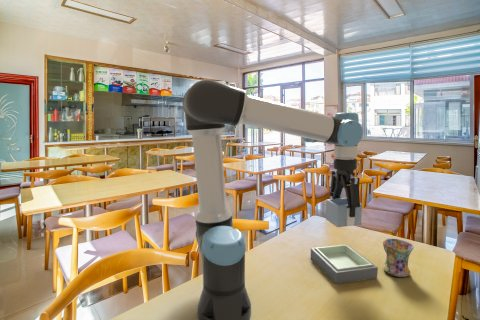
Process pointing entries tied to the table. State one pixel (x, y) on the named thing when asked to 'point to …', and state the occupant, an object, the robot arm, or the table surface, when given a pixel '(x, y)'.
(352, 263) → the top crate
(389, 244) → the mug
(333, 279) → the bottom crate
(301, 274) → the table surface
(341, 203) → the small crate
